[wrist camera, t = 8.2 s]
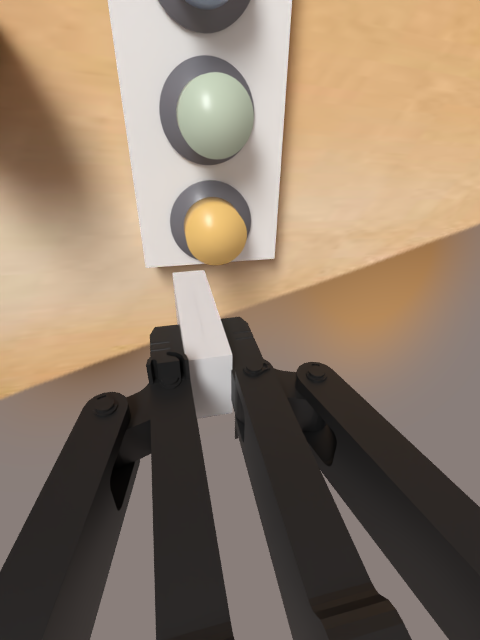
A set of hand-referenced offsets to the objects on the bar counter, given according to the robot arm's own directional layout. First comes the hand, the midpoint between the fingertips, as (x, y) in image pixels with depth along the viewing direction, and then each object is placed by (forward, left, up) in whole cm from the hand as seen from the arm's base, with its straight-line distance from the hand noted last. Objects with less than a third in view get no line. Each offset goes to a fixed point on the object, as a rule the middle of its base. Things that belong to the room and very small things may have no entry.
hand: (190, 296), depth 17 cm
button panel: (+3, +7, -16) cm, 17 cm away
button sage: (+3, +7, -11) cm, 13 cm away
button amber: (+3, 0, -12) cm, 12 cm away
